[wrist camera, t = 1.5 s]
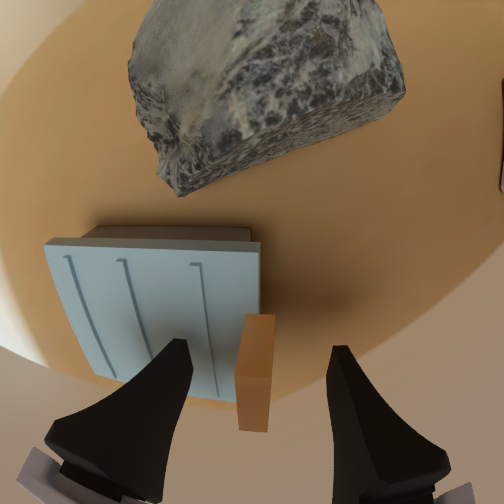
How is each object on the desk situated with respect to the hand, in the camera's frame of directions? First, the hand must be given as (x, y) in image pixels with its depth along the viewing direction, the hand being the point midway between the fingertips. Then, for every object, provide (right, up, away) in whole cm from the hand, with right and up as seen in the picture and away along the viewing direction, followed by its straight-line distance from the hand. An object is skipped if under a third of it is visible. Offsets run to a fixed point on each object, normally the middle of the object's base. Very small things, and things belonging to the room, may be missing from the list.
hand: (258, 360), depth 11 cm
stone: (+1, +13, 0) cm, 13 cm away
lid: (-5, +1, +2) cm, 6 cm away
